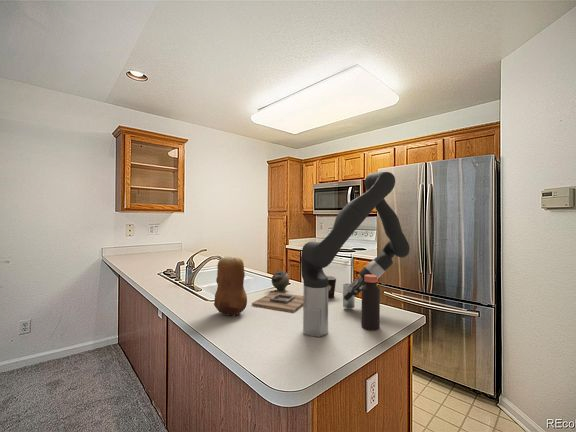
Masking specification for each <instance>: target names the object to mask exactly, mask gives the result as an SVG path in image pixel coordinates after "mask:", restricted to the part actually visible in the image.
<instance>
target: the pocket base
mask: <svg viewBox="0 0 576 432" xmlns="http://www.w3.org/2000/svg"><path fill="white" fill-rule="evenodd" d="M252 305H254V306H253V307H257V306H259V307H258V308H263V307H264V308H265V309H270V310H271V309H272V310H277V311H280V312H281V311H283V312H288V313H293V314H294V313H296V312H297V311H298V310H299V309H301V308H302V307H303V295H299V294H292V293H278V292H275V291H272V292H270V293H268V294H267V295H264V296H263V297H261V298H259V299H257V300H255V301H252V303H251V306H252Z"/></svg>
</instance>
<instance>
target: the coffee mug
mask: <svg viewBox="0 0 576 432" xmlns="http://www.w3.org/2000/svg"><path fill="white" fill-rule="evenodd" d="M326 276H327V278H328V299H333V298H335V290H336V284H337V283H336V282H337V277H335V276H332V275H331V276H330V275H326Z"/></svg>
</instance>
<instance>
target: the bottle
mask: <svg viewBox="0 0 576 432" xmlns="http://www.w3.org/2000/svg"><path fill="white" fill-rule="evenodd" d="M364 282H365V285H364V286H363V287H362V291H361V313H360V315H361V319H360V320H361V322H360V323H361V324H360V325H361V327H362V328H363V330H364V329H365V330H368V331H377V330H379V329H380V325H381V324H380V322H381V320H380V316H381V313H380V312H381V311H380V310H381V290H380V289H381V288H379V286H378V285H377V284H378V279H377V276H376V275H370V274H367V275H364Z"/></svg>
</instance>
